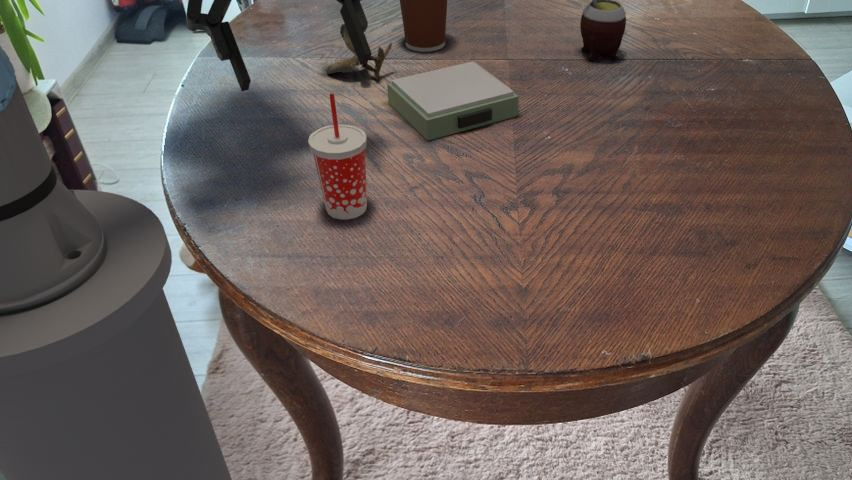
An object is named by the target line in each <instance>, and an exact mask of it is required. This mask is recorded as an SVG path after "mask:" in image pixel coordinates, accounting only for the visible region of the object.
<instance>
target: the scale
mask: <svg viewBox="0 0 852 480" xmlns="http://www.w3.org/2000/svg"><path fill="white" fill-rule="evenodd" d="M386 86H387V87H386V88H387V101H388V105H390V106H391V107H392V108H393V109H394V110H395V111H396V112H397V113H398V114H399V115H400V116H401V117H402V118H403V119H405V121H407V122H408V124H410V126H412V127H413V128H414V129H415V130H416V132H418V133H419V134H420V135H421V136H422V138H424V139H425V140H426V141H433V140H436V139H439V138H443V137H447V136H451V135H454V134H458V133H462V132H465V131H468V130H469V131H470V130H473V129H476V128H480V127H483V126H487V125H490V124H494V123H498V122H501V121H505V120H509V119H512V118H516V117H519V102H520V101H519V98H520V96H519V95H518V94H517V93H516V92H515V91H514V90H513V89H511V88H510V87H508V85H506V84H504V83H503V82H502V81H500V80H499V79H498V78H496V77H495V76H494V75H493V74H492V73H490V72H488V70H486V69H484V67H482V66H481V65H479V64H478V63H476V62H475V61H474V60H473V61H469V62H464V63H460V64H455V65H450V66H447V67H442V68H438V69H434V70H430V71H426V72H422V73H416V74H412V75H408V76H404V77H399V78H395V79H391V82H388V83H386Z"/></svg>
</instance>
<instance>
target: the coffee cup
mask: <svg viewBox="0 0 852 480" xmlns="http://www.w3.org/2000/svg"><path fill="white" fill-rule="evenodd" d="M399 5H400V13H401V19H402V26H403V31H404V32H403V33H404V40H405V46H406V48H407V49H409V50H411V51H414V52H422V53H425V52H427V53H428V52H435V51H438V50H440V49H443V48H444V47H445V45H446V31H447V13H448V11H447V10H448V0H399Z"/></svg>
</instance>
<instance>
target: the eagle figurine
mask: <svg viewBox="0 0 852 480" xmlns="http://www.w3.org/2000/svg"><path fill="white" fill-rule="evenodd" d="M339 29H340V31H339V34H340V35H341V38H342V40H343V41H344V44H345V46H346V47H347V49H348V50H349V51H351V53H353V55H354V56H352V57H348V58H341V59H337V61H335V62H334V63H333V65H330V66H329V67H327V69H326V74H328V75H330V74H331V75H332V74H333V73H335V74H336V73H344V74H347V73H351V72H352V71H353V70H354V69H355V68H356V67H358V71H360V70H361V68H364V69H366V70H368V71H369V72H372V73H374V74H373V75H374V77H375V79H376V81H379V79H380V71H381V68H382V66H383V64H384V61H385V59H386V58H387V56H388V54H389V52H390V50H391V48H392V45H393V43H392V42H390V43H389V44H388V46H387V47H386V48H385V50H384V49H383V48H382V47H381V46H378V49H377V56H373V55H371V56H370V58H369V60H368V62H367V64H363V65H360V63H359V60H358V57H357V55H356V52H355V50H354V47H353V44H352V42H351V39H350V37H349V34H348V31H347V29H346V26H345V23H342V24H341V25H340V28H339ZM369 61H373V62H374V65H375V66H374V67H373V66H372V65H370V64H369Z"/></svg>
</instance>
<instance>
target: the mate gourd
mask: <svg viewBox="0 0 852 480" xmlns="http://www.w3.org/2000/svg"><path fill="white" fill-rule="evenodd" d="M626 17H627V16H626V11H625V8H624V7H623V5H622V4H621V3H620V2H619V1H616V0H590V1H589V2H588V3H587V4H586V5H585V7H584V8H583V10H582V13H581V17H580V23H579V26H580V27H579V28H580V29H579V30H580V36H581V38H582V46H581V52H582V53H586V54H590V56H589V58H588V62H591V63H593V62H595V61H596V60H598V59H599V58H605V59H608V60H612V61H617V60H618V58H619V56H618V55H617V54H618V52H619V49H620V47H621V44H622V41H623V37H624V34H625V31H626V26H627V18H626Z"/></svg>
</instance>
